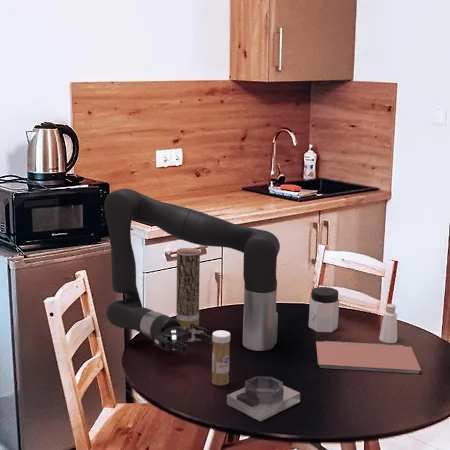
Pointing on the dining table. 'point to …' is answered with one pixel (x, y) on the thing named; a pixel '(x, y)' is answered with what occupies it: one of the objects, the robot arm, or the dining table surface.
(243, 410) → the octagonal ring base plate
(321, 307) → the jar
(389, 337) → the salt shaker
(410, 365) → the notebook
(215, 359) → the sprinkles bottle
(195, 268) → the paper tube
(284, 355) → the dining table surface
